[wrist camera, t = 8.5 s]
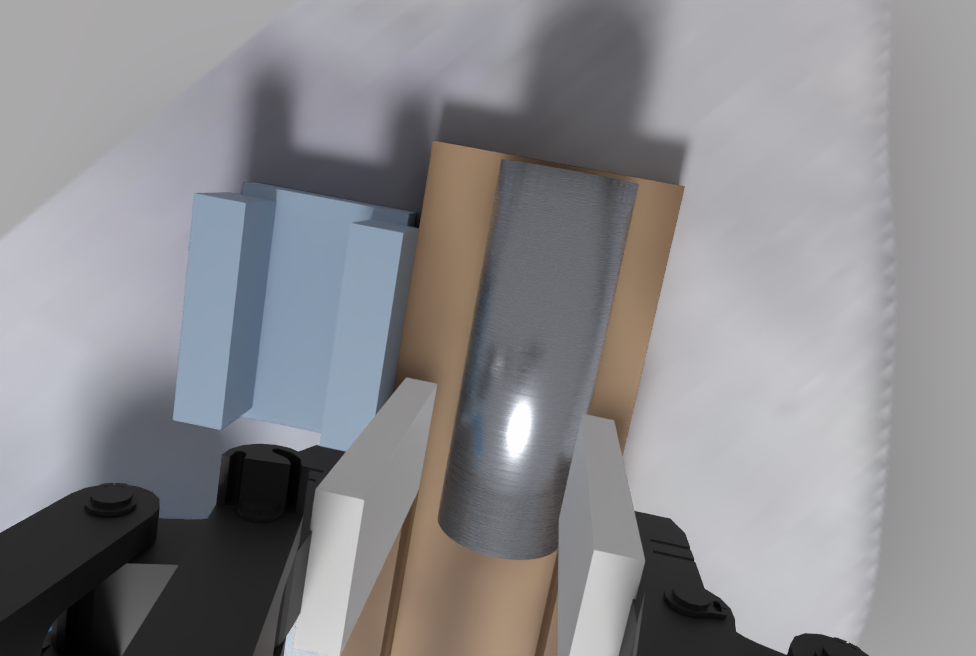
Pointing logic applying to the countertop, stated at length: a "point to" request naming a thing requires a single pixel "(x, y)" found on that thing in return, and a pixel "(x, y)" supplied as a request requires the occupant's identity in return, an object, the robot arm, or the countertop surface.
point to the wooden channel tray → (440, 359)
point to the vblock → (292, 310)
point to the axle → (532, 355)
